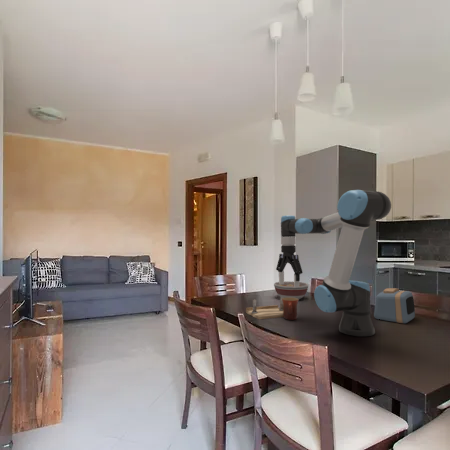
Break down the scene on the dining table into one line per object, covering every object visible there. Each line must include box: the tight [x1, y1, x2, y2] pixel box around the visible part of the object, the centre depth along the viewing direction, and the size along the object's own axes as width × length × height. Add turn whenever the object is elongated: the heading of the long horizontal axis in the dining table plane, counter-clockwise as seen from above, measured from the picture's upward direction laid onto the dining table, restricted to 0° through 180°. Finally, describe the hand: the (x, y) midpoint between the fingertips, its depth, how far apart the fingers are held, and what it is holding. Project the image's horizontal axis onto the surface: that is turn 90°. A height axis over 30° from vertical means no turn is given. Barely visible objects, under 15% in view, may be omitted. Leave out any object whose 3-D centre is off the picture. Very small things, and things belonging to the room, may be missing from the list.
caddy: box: [245, 296, 284, 320], centre depth 190 cm, size 16×20×8 cm
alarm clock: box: [373, 287, 416, 324], centre depth 180 cm, size 16×16×16 cm
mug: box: [282, 297, 300, 321], centre depth 179 cm, size 12×9×10 cm
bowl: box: [273, 280, 309, 300], centre depth 235 cm, size 23×23×10 cm
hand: (288, 285), depth 180 cm, fingers open, 13 cm apart
